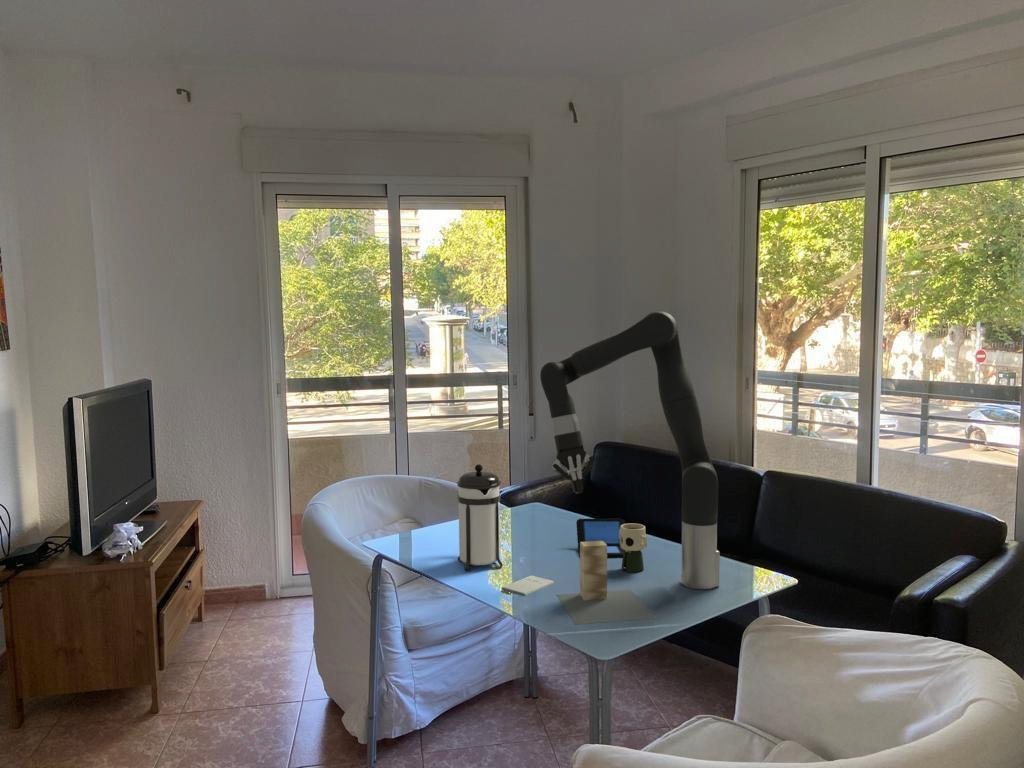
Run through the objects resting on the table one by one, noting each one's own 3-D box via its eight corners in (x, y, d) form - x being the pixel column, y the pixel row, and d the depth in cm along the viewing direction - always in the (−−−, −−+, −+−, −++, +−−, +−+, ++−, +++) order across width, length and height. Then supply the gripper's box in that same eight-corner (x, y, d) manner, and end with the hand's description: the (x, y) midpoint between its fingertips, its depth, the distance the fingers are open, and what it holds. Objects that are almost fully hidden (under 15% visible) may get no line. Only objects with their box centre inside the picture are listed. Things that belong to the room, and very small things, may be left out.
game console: (581, 559, 225) (581, 530, 224) (575, 546, 238) (575, 518, 238) (632, 558, 225) (632, 529, 224) (624, 545, 239) (624, 517, 238)
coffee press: (516, 561, 222) (515, 462, 220) (485, 576, 209) (484, 471, 207) (470, 552, 232) (469, 457, 230) (437, 565, 219) (436, 465, 217)
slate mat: (630, 591, 196) (630, 589, 196) (657, 620, 176) (657, 618, 176) (556, 596, 193) (556, 594, 193) (575, 626, 173) (575, 624, 173)
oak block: (602, 593, 193) (602, 540, 192) (607, 598, 189) (607, 545, 188) (579, 594, 192) (579, 541, 191) (584, 600, 188) (584, 546, 187)
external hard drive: (501, 592, 197) (530, 580, 207) (525, 599, 192) (554, 586, 202) (501, 586, 197) (530, 574, 207) (525, 593, 192) (554, 580, 202)
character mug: (610, 568, 215) (610, 524, 214) (628, 563, 219) (628, 520, 218) (637, 578, 206) (637, 532, 205) (655, 573, 210) (655, 528, 209)
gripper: (584, 428, 213) (596, 488, 212) (540, 437, 210) (552, 497, 208) (593, 426, 206) (605, 488, 204) (548, 435, 202) (560, 498, 201)
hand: (578, 493), depth 206 cm, fingers closed
